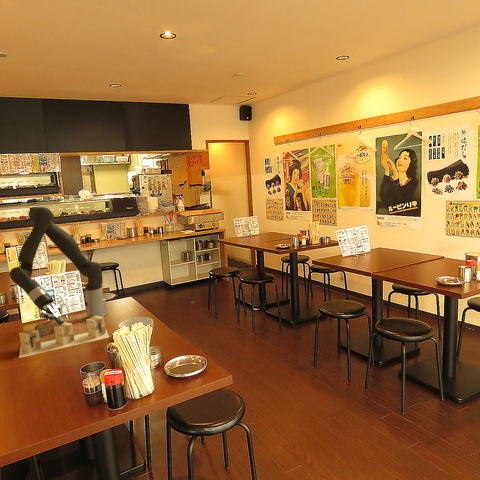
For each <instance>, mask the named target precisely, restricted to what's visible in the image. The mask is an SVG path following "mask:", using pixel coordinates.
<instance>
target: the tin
mask: <svg viewBox="0 0 480 480" xmlns="http://www.w3.org/2000/svg"><path fill="white" fill-rule="evenodd" d="M56 325H58V323H57V322H56V320H54V319H52V320H49V319H47V320H46V321H42V322H39V323H38V324H37V325H35V328H34V330H38V331H39V337H40V339H42V338H45V337H47V336H50V335H52V334H55V331H54V326H56Z"/></svg>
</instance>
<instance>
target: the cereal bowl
mask: <svg viewBox="0 0 480 480" xmlns="http://www.w3.org/2000/svg"><path fill="white" fill-rule="evenodd" d="M137 322H143V324H144V325H148V324H150V325H151V327H152V329H154V319H152V318H151V317H147V316H139V317H138V316H136V317H130V318H127V319H125V320H123V321H121V322H120V323H119V324H118V330H119V329H120V328H121V327H123V326H127V327H130V326H132V325H133V324H134V323H137Z"/></svg>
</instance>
